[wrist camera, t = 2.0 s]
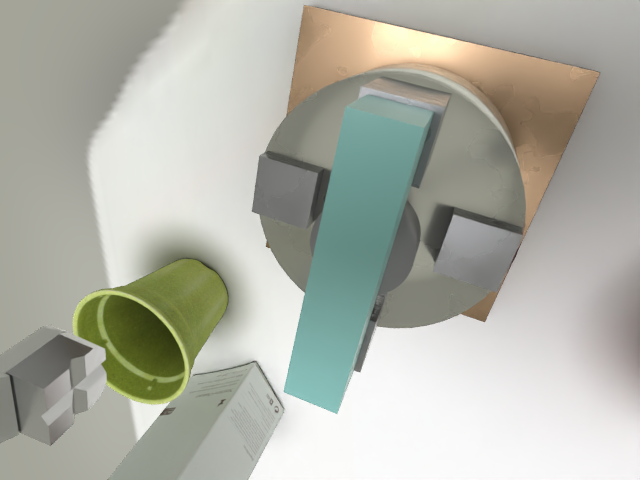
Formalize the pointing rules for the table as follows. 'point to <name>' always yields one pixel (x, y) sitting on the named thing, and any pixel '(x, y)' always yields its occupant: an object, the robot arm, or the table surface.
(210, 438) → the skincare box
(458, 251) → the socket
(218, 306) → the plant pot
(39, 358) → the robot arm
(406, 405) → the table surface
